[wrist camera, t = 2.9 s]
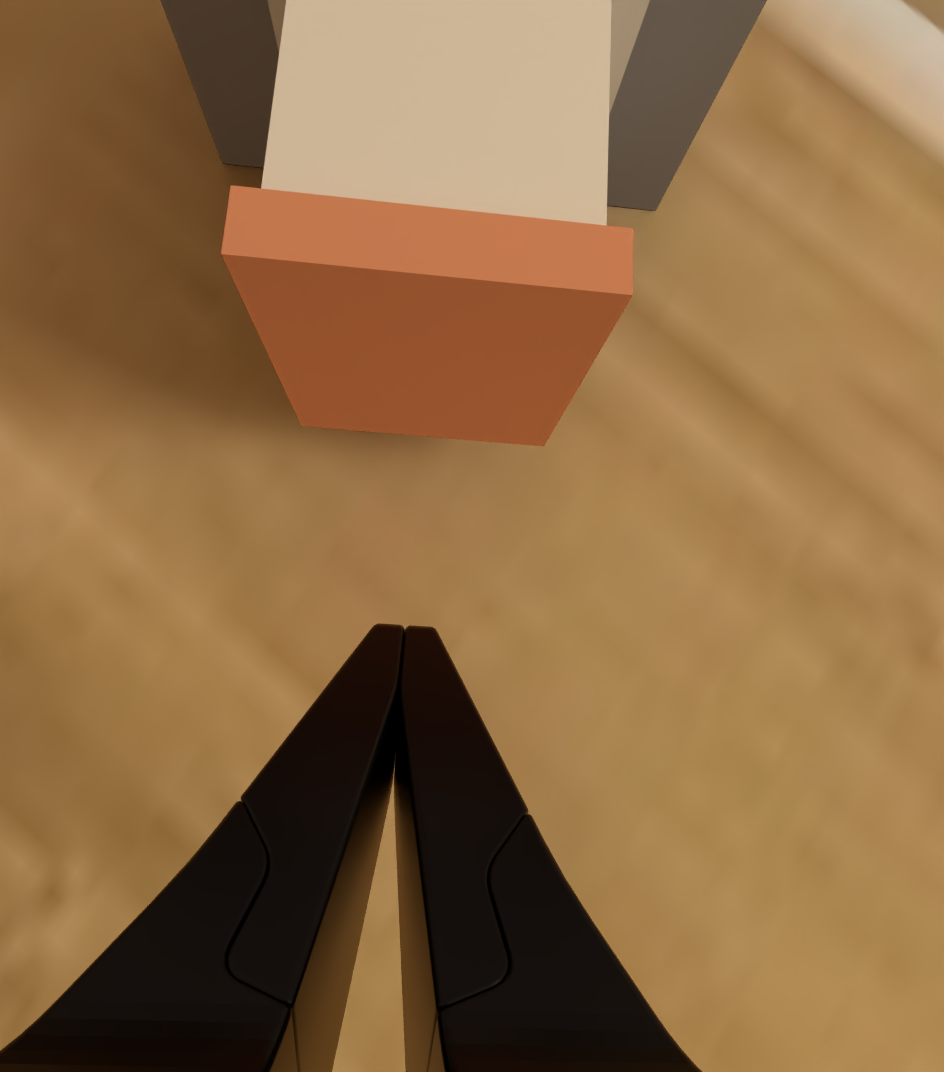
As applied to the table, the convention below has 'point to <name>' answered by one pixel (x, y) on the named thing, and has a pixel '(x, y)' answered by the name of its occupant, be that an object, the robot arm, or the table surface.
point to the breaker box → (634, 100)
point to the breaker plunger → (435, 215)
